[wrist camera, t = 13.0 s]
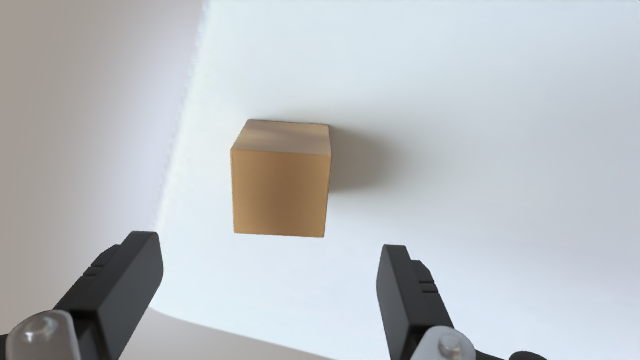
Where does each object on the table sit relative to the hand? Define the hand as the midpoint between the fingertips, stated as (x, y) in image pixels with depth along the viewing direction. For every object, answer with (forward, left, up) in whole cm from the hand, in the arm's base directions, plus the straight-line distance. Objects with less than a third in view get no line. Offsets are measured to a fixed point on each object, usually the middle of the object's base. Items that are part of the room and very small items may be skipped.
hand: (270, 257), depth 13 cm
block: (0, 0, -9) cm, 9 cm away
